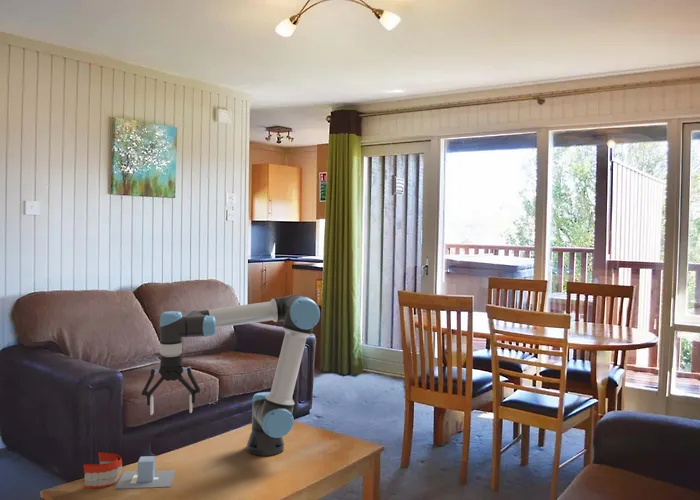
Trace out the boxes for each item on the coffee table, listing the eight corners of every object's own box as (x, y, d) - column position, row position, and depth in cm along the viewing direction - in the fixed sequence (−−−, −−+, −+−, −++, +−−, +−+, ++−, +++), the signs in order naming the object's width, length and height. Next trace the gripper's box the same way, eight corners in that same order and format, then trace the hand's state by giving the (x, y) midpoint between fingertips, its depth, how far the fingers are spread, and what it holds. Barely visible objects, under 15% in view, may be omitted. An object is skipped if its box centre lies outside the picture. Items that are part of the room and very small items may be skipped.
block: (154, 475, 209) (155, 456, 208) (152, 481, 204) (153, 461, 203) (140, 476, 208) (140, 456, 208) (137, 482, 203) (138, 461, 203)
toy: (112, 490, 196) (113, 467, 196) (81, 489, 196) (82, 465, 196) (127, 475, 209) (128, 453, 209) (98, 474, 209) (99, 452, 209)
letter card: (175, 471, 214) (175, 470, 214) (170, 487, 200) (170, 486, 200) (123, 472, 211) (123, 471, 211) (114, 489, 197) (114, 488, 197)
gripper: (207, 351, 218) (207, 407, 219) (136, 353, 213) (137, 411, 214) (206, 355, 211) (206, 414, 211) (133, 358, 206) (133, 418, 206)
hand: (171, 412), depth 213 cm, fingers open, 13 cm apart
